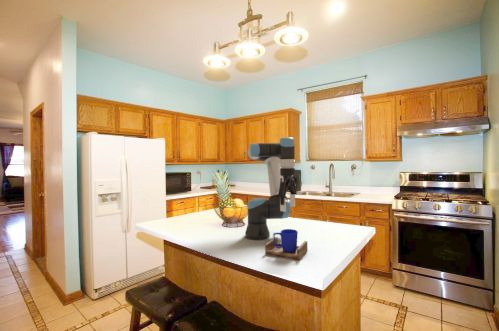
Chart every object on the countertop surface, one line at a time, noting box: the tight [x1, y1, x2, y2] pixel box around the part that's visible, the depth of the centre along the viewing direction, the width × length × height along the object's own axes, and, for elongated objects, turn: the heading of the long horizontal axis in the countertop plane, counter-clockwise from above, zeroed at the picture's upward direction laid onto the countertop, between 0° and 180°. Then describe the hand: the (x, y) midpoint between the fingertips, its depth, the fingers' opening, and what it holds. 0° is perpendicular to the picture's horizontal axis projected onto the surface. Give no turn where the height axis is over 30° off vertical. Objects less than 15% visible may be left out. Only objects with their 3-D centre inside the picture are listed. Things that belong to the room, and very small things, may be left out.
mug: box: [272, 228, 298, 253], centre depth 124 cm, size 8×12×10 cm
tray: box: [264, 236, 308, 261], centre depth 125 cm, size 17×13×5 cm
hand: (288, 208), depth 129 cm, fingers open, 13 cm apart
